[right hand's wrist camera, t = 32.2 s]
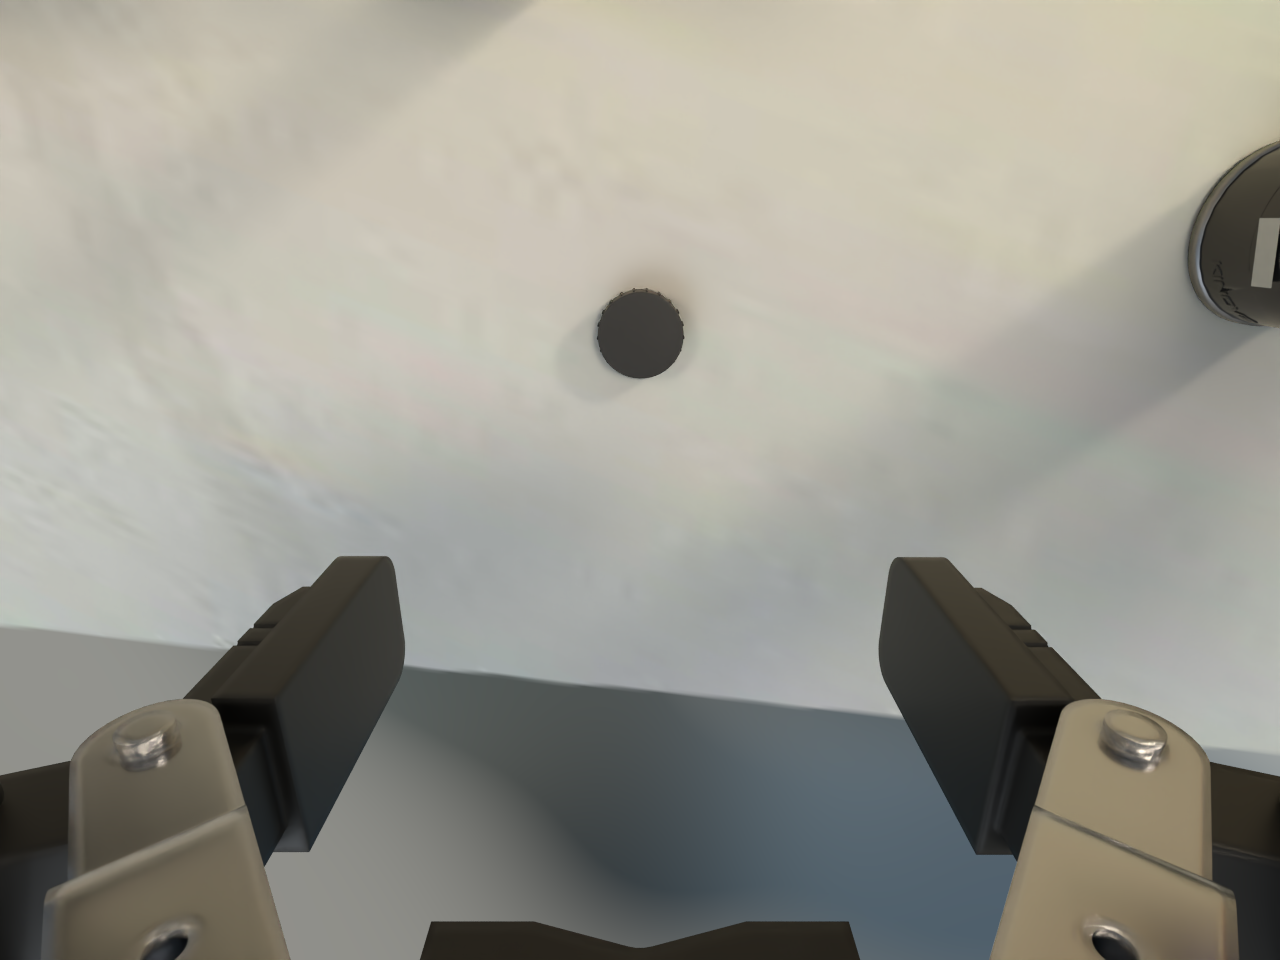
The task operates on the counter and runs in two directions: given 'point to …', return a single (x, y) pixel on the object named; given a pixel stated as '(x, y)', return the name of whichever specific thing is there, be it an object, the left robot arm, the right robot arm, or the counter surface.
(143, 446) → the counter surface
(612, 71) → the counter surface
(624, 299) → the lid
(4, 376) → the counter surface
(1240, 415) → the counter surface
